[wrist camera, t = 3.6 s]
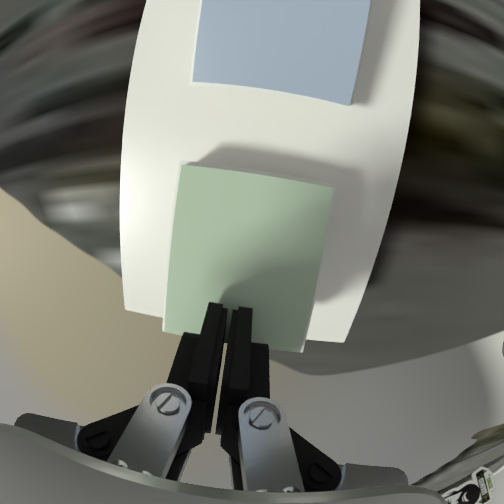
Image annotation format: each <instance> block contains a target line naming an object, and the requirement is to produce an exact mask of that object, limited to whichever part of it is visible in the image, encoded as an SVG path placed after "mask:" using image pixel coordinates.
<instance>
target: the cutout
mask: <svg viewBox="0 0 504 504" xmlns="http://www.w3.org/2000/svg"><path fill="white" fill-rule="evenodd" d="M471 476H472V481H467V482H465V483H463V484H462V485H461V486H459V487H458V488H453V489H451V490H449V491H447V492H446V493H445V494H444V495H442V497H443V498H444V499H445V501H446V502H447V504H488V503H490V502H491V501H492V494H491V492H492V491H493V490H494V488H495V482H494V479H493V474H492V472H491V471H489V469H488V468H485V467H480V468H479V469H477V470H476V471H474V472H473V473H472V475H471Z"/></svg>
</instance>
